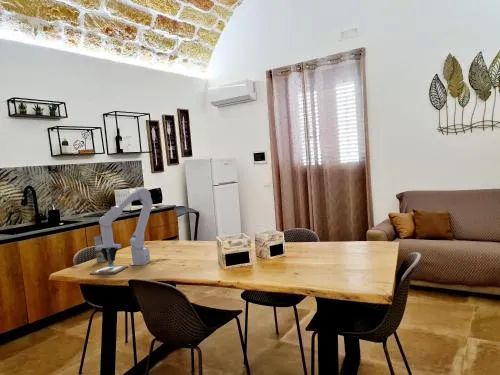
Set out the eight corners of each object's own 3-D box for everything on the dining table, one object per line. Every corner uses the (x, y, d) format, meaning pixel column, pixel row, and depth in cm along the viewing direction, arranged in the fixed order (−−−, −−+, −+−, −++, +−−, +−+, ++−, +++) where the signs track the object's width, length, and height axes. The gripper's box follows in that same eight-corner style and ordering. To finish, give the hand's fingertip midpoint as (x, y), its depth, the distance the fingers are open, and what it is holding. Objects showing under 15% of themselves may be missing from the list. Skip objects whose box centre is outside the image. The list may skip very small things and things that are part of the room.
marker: (115, 265, 210) (112, 247, 209) (112, 267, 207) (109, 249, 206) (110, 265, 210) (108, 248, 210) (107, 267, 207) (105, 249, 207)
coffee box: (105, 261, 229) (102, 236, 227) (96, 262, 230) (93, 236, 229) (114, 257, 238) (110, 232, 236) (105, 258, 239) (101, 233, 238)
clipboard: (128, 267, 211) (127, 264, 210) (115, 274, 199) (115, 270, 199) (103, 267, 215) (103, 264, 214) (90, 274, 203) (89, 271, 203)
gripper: (91, 239, 205) (94, 263, 206) (114, 238, 202) (117, 262, 203) (99, 236, 212) (102, 259, 213) (122, 235, 208) (125, 259, 209)
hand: (110, 261), depth 208 cm, fingers closed on marker, 3 cm apart
